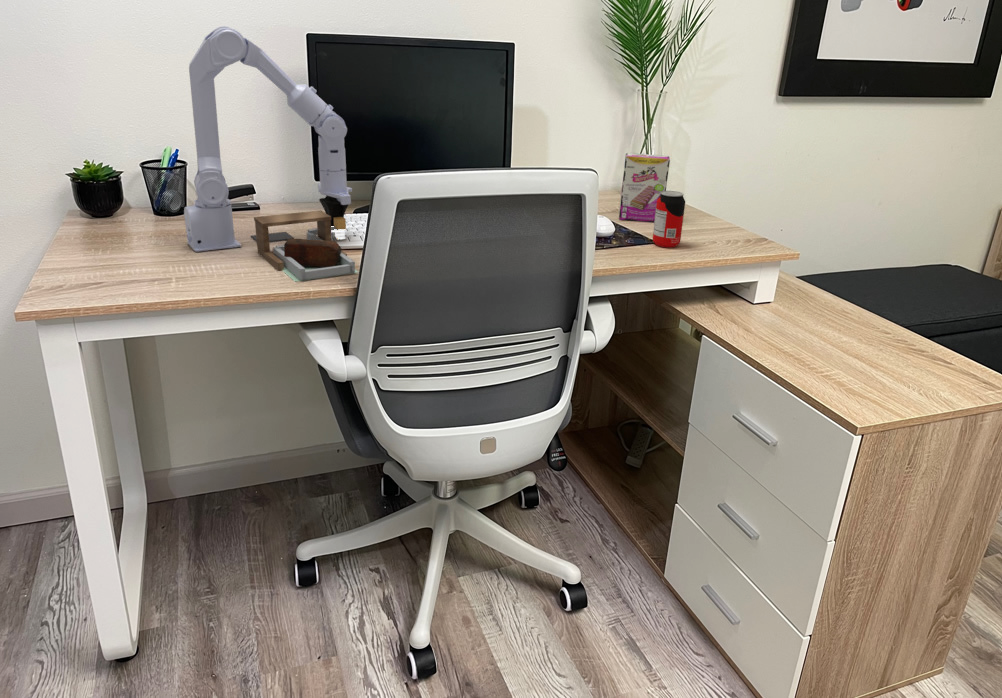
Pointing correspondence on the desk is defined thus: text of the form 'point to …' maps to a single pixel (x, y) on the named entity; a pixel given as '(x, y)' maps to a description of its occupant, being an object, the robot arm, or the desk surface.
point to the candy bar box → (642, 185)
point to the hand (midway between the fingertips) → (335, 229)
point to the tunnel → (285, 219)
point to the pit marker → (276, 236)
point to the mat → (308, 269)
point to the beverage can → (668, 219)
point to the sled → (302, 274)
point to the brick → (313, 252)
